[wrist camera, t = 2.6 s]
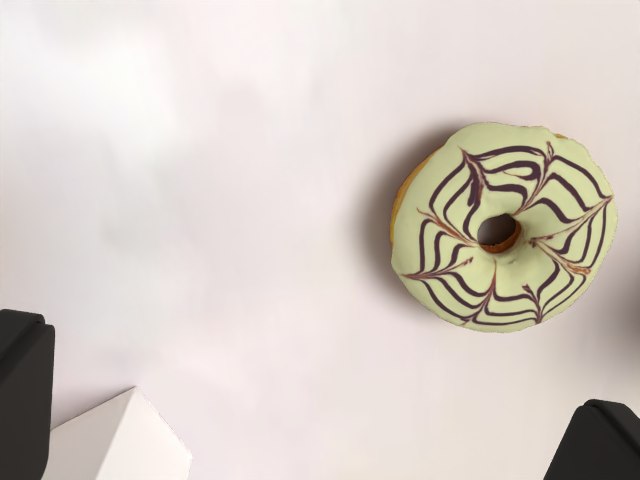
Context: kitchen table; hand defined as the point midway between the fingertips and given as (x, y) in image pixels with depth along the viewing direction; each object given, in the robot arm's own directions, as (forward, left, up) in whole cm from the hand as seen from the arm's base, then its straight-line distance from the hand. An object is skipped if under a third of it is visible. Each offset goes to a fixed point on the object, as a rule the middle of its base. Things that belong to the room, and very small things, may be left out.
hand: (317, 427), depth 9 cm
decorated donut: (+10, 0, -18) cm, 21 cm away
